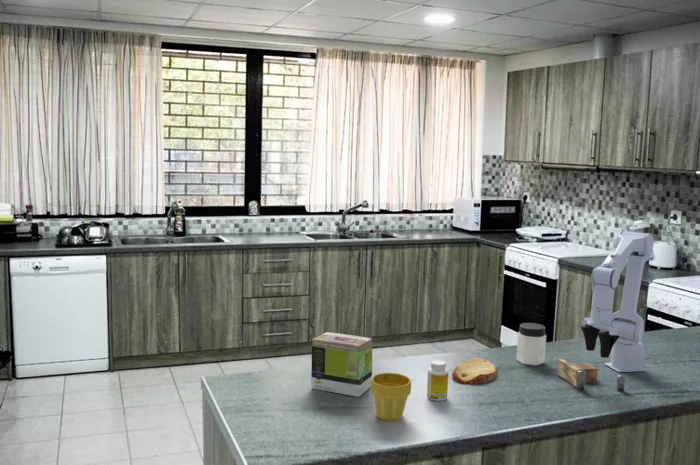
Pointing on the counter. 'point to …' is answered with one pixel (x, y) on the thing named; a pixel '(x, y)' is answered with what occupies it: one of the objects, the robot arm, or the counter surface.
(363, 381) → the tea box
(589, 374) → the block
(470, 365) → the bread slice
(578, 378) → the hinge post
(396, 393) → the plant pot
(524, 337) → the jar
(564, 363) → the gate
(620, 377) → the post
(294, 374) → the counter surface
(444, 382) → the supplement bottle
